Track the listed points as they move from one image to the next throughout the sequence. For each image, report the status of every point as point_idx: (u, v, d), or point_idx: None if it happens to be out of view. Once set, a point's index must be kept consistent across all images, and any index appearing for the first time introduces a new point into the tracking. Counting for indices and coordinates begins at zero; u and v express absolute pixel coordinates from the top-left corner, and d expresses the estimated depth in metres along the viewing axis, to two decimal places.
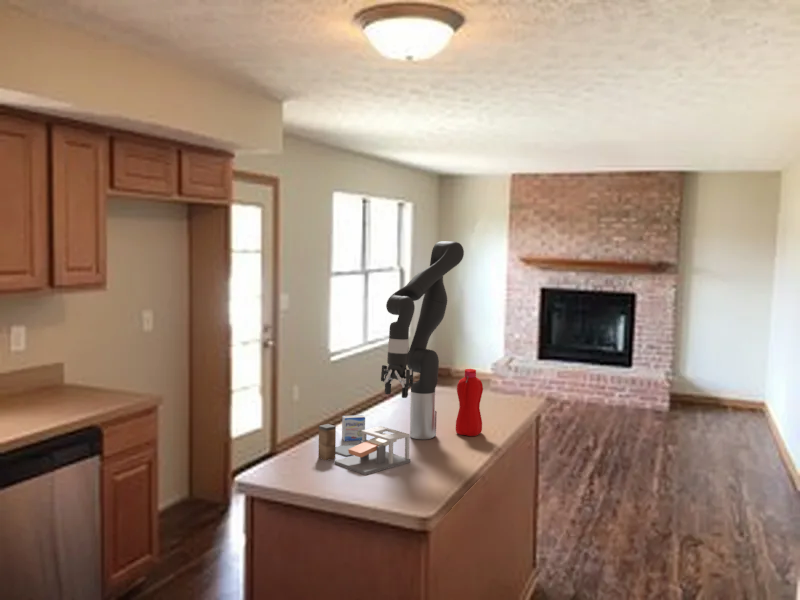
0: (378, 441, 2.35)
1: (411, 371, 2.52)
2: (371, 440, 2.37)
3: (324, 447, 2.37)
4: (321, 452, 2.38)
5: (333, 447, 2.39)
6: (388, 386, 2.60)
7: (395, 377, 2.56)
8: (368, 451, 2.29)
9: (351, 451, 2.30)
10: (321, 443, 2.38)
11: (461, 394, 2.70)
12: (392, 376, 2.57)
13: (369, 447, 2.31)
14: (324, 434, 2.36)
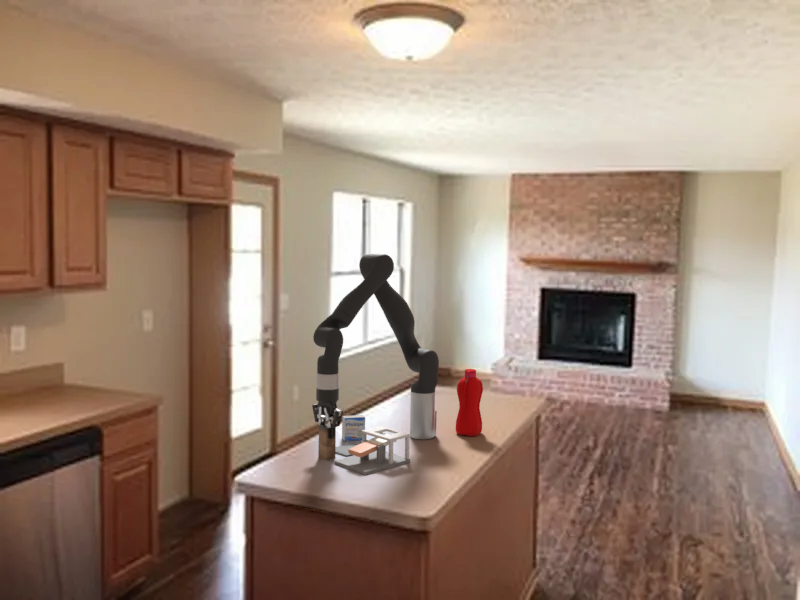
0: (378, 441, 2.35)
1: (340, 413, 2.34)
2: (371, 440, 2.37)
3: (324, 447, 2.37)
4: (321, 452, 2.38)
5: (333, 447, 2.39)
6: None
7: (325, 415, 2.37)
8: (368, 451, 2.29)
9: (351, 451, 2.30)
10: (321, 443, 2.38)
11: (461, 394, 2.70)
12: (323, 413, 2.38)
13: (369, 447, 2.31)
14: (324, 434, 2.36)
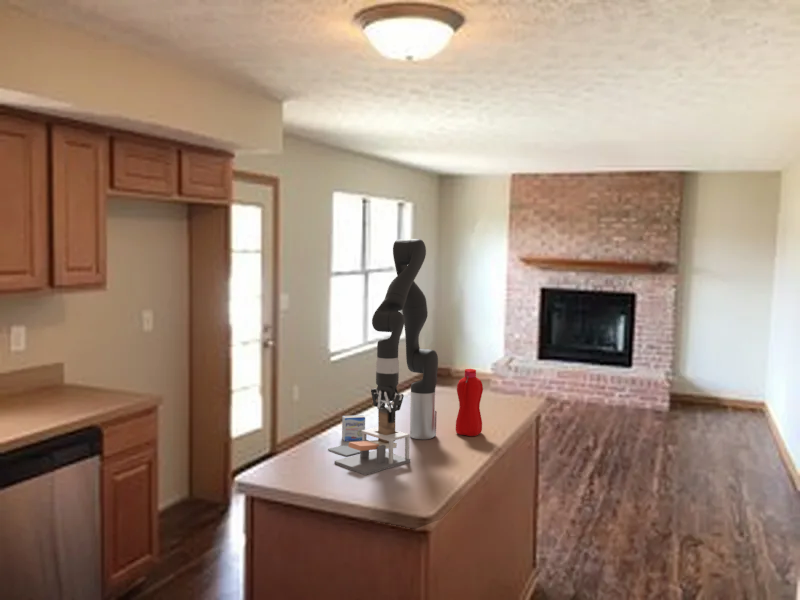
0: (378, 442, 2.36)
1: (401, 397, 2.33)
2: (371, 441, 2.37)
3: (384, 429, 2.36)
4: None
5: (393, 430, 2.38)
6: None
7: (385, 399, 2.37)
8: (368, 447, 2.29)
9: (351, 444, 2.30)
10: (381, 426, 2.37)
11: (461, 394, 2.70)
12: (383, 397, 2.37)
13: (369, 444, 2.31)
14: (385, 417, 2.36)
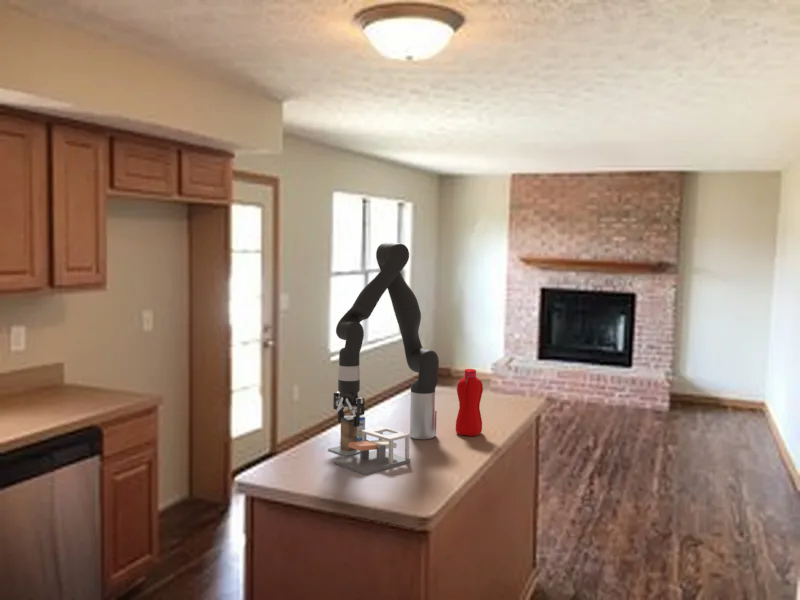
0: (378, 442, 2.36)
1: (362, 400, 2.43)
2: (371, 441, 2.37)
3: (346, 438, 2.46)
4: (343, 443, 2.47)
5: (354, 438, 2.48)
6: (341, 414, 2.50)
7: (347, 405, 2.46)
8: (368, 447, 2.29)
9: (351, 444, 2.30)
10: (343, 434, 2.47)
11: (461, 394, 2.70)
12: (344, 404, 2.47)
13: (370, 444, 2.31)
14: (346, 426, 2.46)
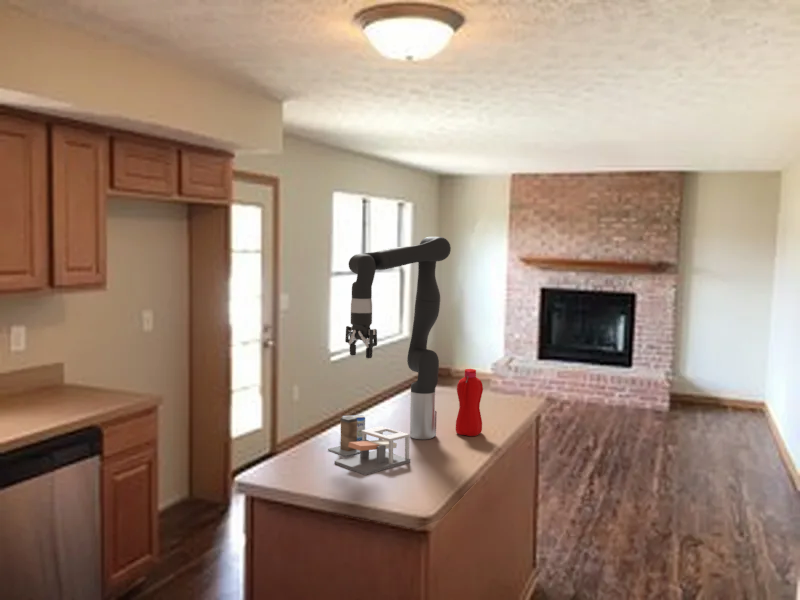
0: (378, 442, 2.36)
1: (374, 331, 2.47)
2: (371, 441, 2.37)
3: (346, 438, 2.46)
4: (343, 443, 2.47)
5: (354, 438, 2.48)
6: (353, 347, 2.55)
7: (359, 337, 2.51)
8: (368, 447, 2.29)
9: (351, 444, 2.30)
10: (343, 434, 2.47)
11: (461, 394, 2.70)
12: (356, 337, 2.52)
13: (370, 444, 2.31)
14: (346, 426, 2.46)
